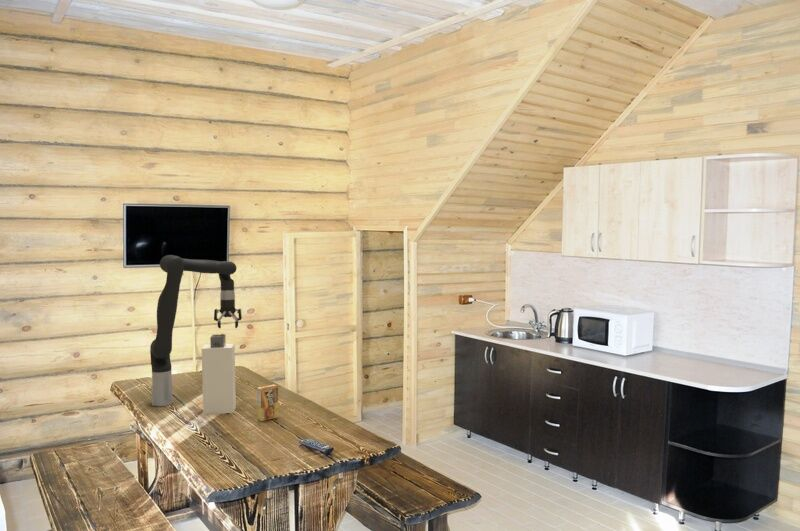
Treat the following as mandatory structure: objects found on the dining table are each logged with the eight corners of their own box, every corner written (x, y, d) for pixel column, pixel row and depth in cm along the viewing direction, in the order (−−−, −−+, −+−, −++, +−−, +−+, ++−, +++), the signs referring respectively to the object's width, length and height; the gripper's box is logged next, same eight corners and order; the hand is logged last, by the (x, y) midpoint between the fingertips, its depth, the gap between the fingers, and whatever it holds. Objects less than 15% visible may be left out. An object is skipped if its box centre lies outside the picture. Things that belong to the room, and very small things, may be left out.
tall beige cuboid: (203, 414, 302) (201, 348, 299) (206, 408, 312) (205, 344, 309) (233, 413, 304) (231, 347, 301) (235, 406, 314) (234, 343, 311)
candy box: (274, 415, 301) (273, 383, 299) (278, 417, 297) (278, 385, 296) (257, 419, 295) (256, 387, 294) (261, 421, 292) (261, 389, 290)
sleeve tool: (210, 347, 301) (210, 337, 300) (216, 339, 319) (216, 330, 319) (223, 347, 301) (223, 337, 301) (228, 339, 320) (228, 329, 320)
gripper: (212, 299, 335) (213, 329, 336) (240, 299, 337) (240, 329, 338) (215, 297, 342) (215, 327, 344) (241, 297, 344) (242, 326, 346)
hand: (228, 328), depth 341 cm, fingers open, 8 cm apart
